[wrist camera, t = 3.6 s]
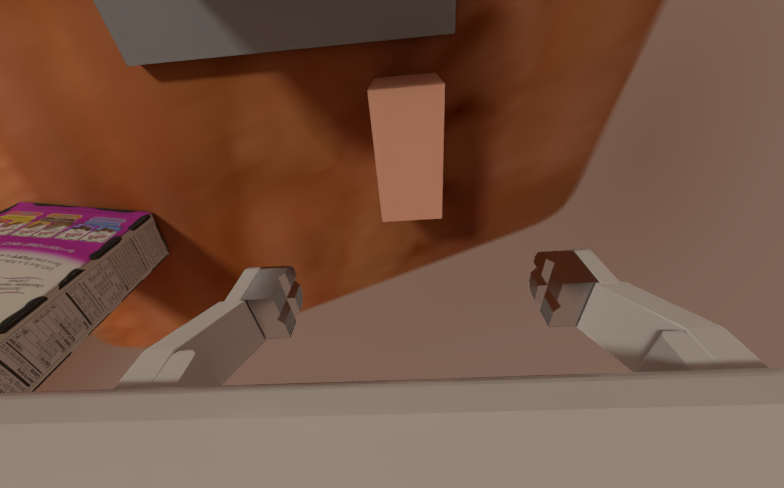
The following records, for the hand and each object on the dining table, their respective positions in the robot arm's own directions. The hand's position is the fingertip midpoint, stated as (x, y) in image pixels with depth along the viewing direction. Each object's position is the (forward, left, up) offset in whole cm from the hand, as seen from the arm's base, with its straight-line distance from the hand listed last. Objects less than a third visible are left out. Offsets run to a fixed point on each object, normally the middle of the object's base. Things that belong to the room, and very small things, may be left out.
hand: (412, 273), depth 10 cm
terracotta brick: (0, 0, -14) cm, 14 cm away
